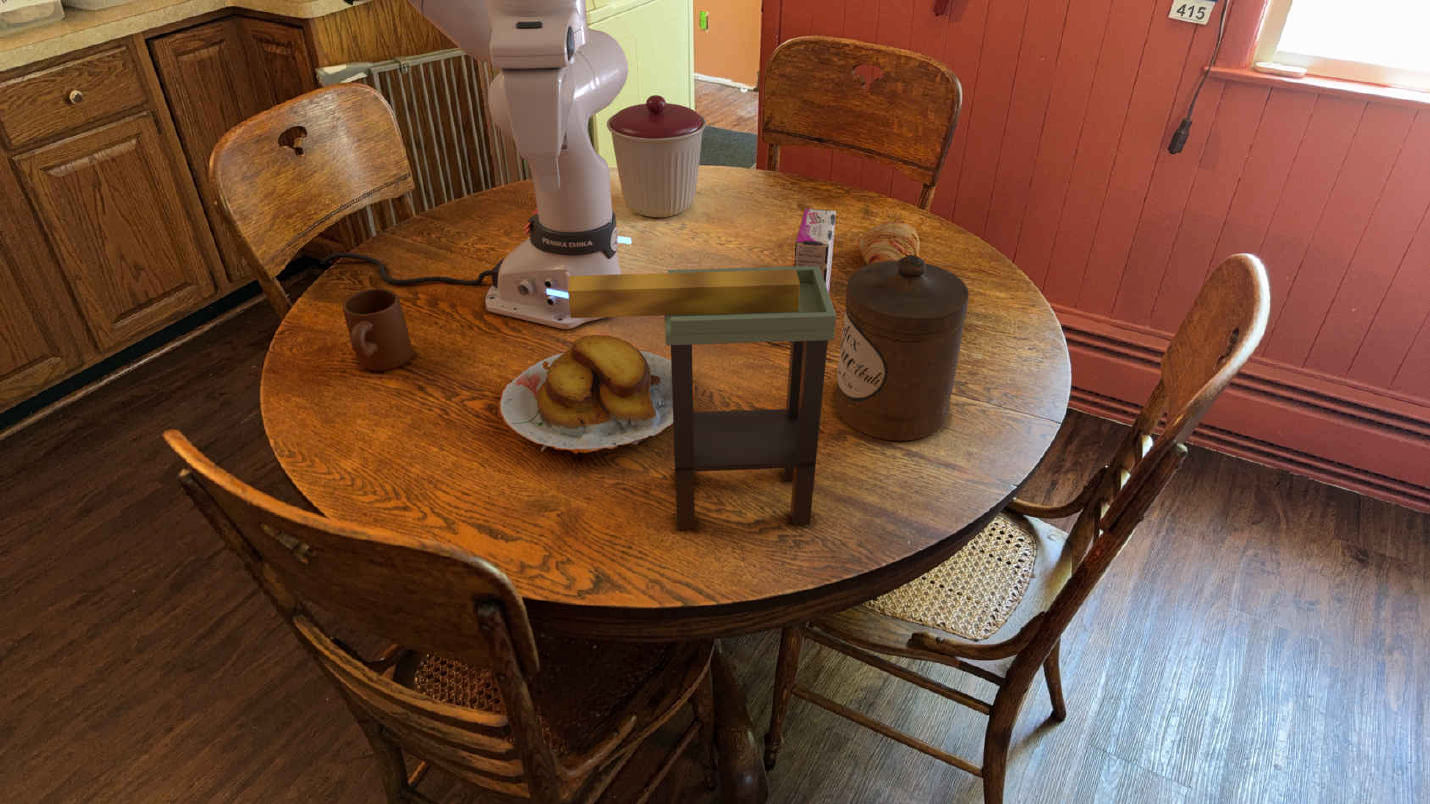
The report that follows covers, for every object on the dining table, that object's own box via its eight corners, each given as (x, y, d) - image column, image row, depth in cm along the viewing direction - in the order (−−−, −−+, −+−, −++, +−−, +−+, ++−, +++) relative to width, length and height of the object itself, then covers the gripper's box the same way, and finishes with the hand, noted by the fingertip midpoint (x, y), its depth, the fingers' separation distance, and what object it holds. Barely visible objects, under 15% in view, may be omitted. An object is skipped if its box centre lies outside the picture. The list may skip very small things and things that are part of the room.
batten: (570, 318, 82) (567, 290, 80) (573, 302, 84) (570, 275, 83) (798, 311, 83) (800, 284, 81) (794, 296, 86) (795, 269, 84)
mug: (398, 391, 117) (382, 332, 111) (341, 392, 116) (322, 333, 111) (419, 343, 126) (405, 287, 120) (367, 344, 126) (351, 288, 120)
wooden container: (826, 376, 120) (840, 232, 106) (930, 373, 120) (957, 229, 107) (845, 444, 108) (863, 291, 95) (960, 440, 108) (995, 287, 95)
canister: (721, 197, 169) (722, 88, 156) (681, 234, 156) (678, 118, 143) (640, 182, 175) (635, 76, 162) (595, 216, 162) (585, 103, 149)
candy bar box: (797, 303, 136) (804, 206, 126) (828, 306, 135) (838, 209, 125) (787, 340, 127) (794, 240, 117) (821, 344, 126) (830, 243, 116)
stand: (672, 532, 95) (664, 321, 79) (670, 473, 103) (663, 269, 87) (814, 526, 96) (836, 315, 80) (802, 467, 104) (819, 265, 88)
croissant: (893, 310, 141) (923, 276, 135) (842, 277, 140) (870, 241, 135) (909, 251, 157) (936, 219, 151) (863, 222, 156) (888, 187, 151)
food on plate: (465, 444, 107) (455, 402, 104) (555, 343, 126) (550, 304, 123) (653, 487, 101) (650, 444, 97) (719, 374, 120) (719, 334, 116)
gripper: (517, -1, 86) (535, 135, 94) (485, 53, 69) (510, 212, 78) (581, -2, 86) (593, 134, 94) (564, 51, 70) (580, 210, 78)
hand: (555, 170), depth 86 cm, fingers open, 8 cm apart
